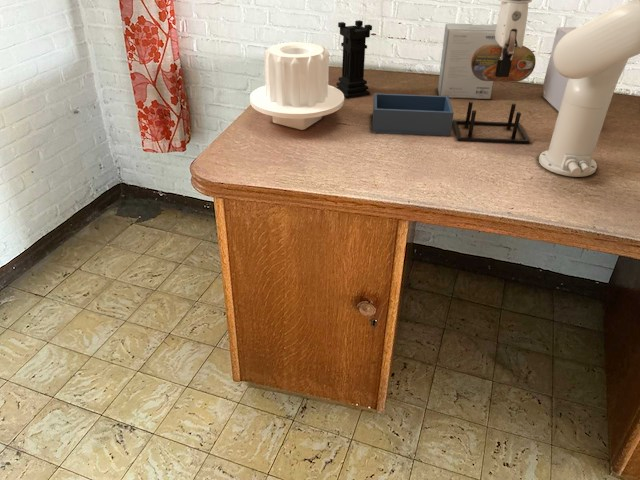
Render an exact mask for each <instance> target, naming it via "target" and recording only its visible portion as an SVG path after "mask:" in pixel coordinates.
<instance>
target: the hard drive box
mask: <svg viewBox="0 0 640 480" xmlns="http://www.w3.org/2000/svg"><path fill="white" fill-rule="evenodd" d="M496 25H497V23H496V24H495V23H445V25H444V33H443V40H442V41H443V43H442V50H441V58H440V67H439V76H438V82H437V83H438V84H437V92H438V96H449V99H450V98H451V99H455V98H456V99H477V100H481V99H482V100H491V98H492V93H493V87H494V82H495V81H482V80H480V79H478V78H477V77H475V75H474V74H473V72H472V69H471V59H472V56H473V54H474V53H475V51H476V50H477V49H479V48H480V47H482V46H484V45H489V44H492V45H498V42H497V41H496V39H495V31H496Z"/></svg>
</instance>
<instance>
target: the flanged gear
mask: <svg viewBox="0 0 640 480" xmlns="http://www.w3.org/2000/svg"><path fill="white" fill-rule="evenodd" d="M265 49H266V50H265V51H264V53H263V61H264V62H263V63H264V64H263V65H264V85H262V86H259V87H258V88H255V89H254V90H253V91H252V92H251V93H250V95H249V103H250V106H251V108H252V109H254V110H255V111H257V112H259V113H260V114H264V115H267V116H269V117H272V123H274V124H276V125H281V126H285V127H288V128H293V129H297V130H301V131H304V130H306V129H307V128H309V127H310V126H312V125H315V123H317V122H318V121H320V120H322V118H323V117H324V116H327V115H331V114H333V113H335V112H337V111H339V110H340V109H342V108H343V106H344V104H345V97H344V94H343V93H342V92H341V91H340V90H339V89H337V88H335V87H336V86H333V85H330V84H329V78H330V77H329V73H330V72H329V71H330V70H329V68H330V53H329V51H328V50H327V49H326V48H325V46H324V45H319V44H316V43H313V42H303V41H302V42H301V41H293V42H289V41H288V42H282V43H277V44H272V45H270V46H269V48H265Z"/></svg>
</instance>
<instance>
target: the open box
mask: <svg viewBox="0 0 640 480" xmlns="http://www.w3.org/2000/svg"><path fill="white" fill-rule="evenodd" d="M453 120H454V110H453V106H452V103H451V100H450V98H449V96H439V95H431V94H430V95H428V94H427V95H426V94H400V93H379V92H378V93H376V92H374V93H373V104H372V124H371V125H372V126H371V127H372V128H371V129H372V130H371V133H373V134H377V133H378V134H397V135H417V136H418V135H419V136H445V137H450V136H451V133H452V126H453V123H452V122H453Z"/></svg>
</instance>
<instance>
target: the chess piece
mask: <svg viewBox="0 0 640 480" xmlns="http://www.w3.org/2000/svg"><path fill="white" fill-rule="evenodd" d="M363 25H364V26H363ZM337 28H339V35H340V36H342V37H343V38H342V42H341V43H340V44H341V45H340V46H341V47H342V64H341V65H342V66H341V67H342V69H341V70H342V71H341V77H338V82H337V81H336V86H334V87H335V88H337V89H339V90H340V91H341V92H342V93H343V94H344V99H350V98H358V97H364V96H370V94H371V91H369V85H367V84H368V81H367V80H366V79H364V77H365V61H366V60H365V59H366V49H367V50H368V45H367V44H366V42H367V41H366V40H367V38H368V39H369V38H371V36H370V35H371V31H373V25H372V24H364V21H363V20H361V19H360V20H355V21H354V25H348V26H347V24H346V22H344V21H340V22H339V21H338V22H337Z"/></svg>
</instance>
